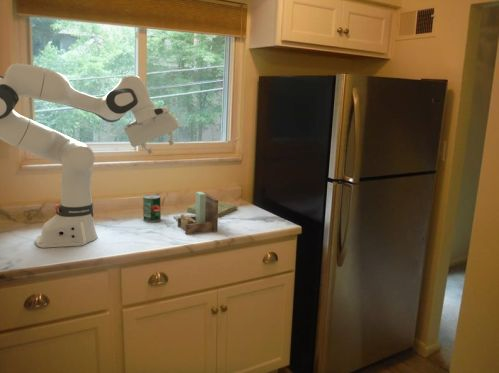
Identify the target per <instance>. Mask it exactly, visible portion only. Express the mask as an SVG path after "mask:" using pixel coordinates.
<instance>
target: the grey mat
mask: <svg viewBox="0 0 499 373" xmlns="http://www.w3.org/2000/svg"><path fill="white" fill-rule="evenodd" d="M184 215H185V216H187V217H193V216H196V214H187V215H186V214H184ZM178 218H181V215H176V216H173V219H174V220H175V221H177V222H178Z"/></svg>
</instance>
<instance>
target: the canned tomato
mask: <svg viewBox="0 0 499 373" xmlns="http://www.w3.org/2000/svg"><path fill="white" fill-rule="evenodd" d="M161 197H162V196H161V195H159V194H145V195H143V196H142V198H143V200H142V201H143V202H142V204H143V211H142V212H143V213H142V214H143V221H145V222H157V221H161V219H162V218H161V214H162V211H161V208H162V207H161V204H162V203H161Z"/></svg>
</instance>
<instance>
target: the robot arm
mask: <svg viewBox="0 0 499 373" xmlns="http://www.w3.org/2000/svg"><path fill="white" fill-rule="evenodd" d="M4 74H5V75H4V76H3V75H0V140H1V141H3V142H4V143H7V144H9V145H11V146H13V147H16V148H18V149H20V150H23V151H25V152H27V153H29V154H33V155H35V156H38V157H41V158H44V159H46V160H48V161H51V162H55V163H57V164H59V165H61V167H62V169H61V182H60V197H61V198H60V200H61V201H60V202H61V203H60V204H59V203H56V204H54V206H53V207H54V209H55V213H56V214H55V215H54V216H52V218H50V219H49V220H47V221H46V222H44V224H43V226H42V229H41V233H40V234H39V235H38V236H36V237H35V240H34V241H35V245H36V246H37V247H39V248H41V249H42V248H60V247H64V248H65V247H78V246H80V247H81V246H84V245H86V244H88V243H91V242H93V241H95V240H97V238H98V234H97V231H96V227H95V223H94V215H95V214H94V213H95V212H94V210H95V209H94V203H93V202H92V201H93V200H92V197H93V196H92V180H93V172H94V163H95V154H94V151H93V149H92V148H91V147H90V146H89V145H88V144H86V143H84V142H82V141H79V140H77V139H75V138H73V137H70V136H68V135H66V134H65V133H64V134H63V133H61V132H59V131H57V130H55V129H53V128H51V127H49V126H46V125H45V124H42V123H39V122H37V121H35V120H33V119H31V118H29V117H26V116H23V115H21V114H19V113H18V112H16V110H14V109H15V107H16V106H17V105H18V102H19V100H20V98H22V97H23V98H30V99H35V100H39V101H42V102H47V103H53V104H58V105H62V106H63V105H64V106H68V107H71V108H74V109H78V110H81V111H85V112H88V113H91V114H93V115H95V116H97V117H98V118H100V119H102V120H103V121H105V122H108V123H116V122H118V121H120V120H121V118H122V117H124V116H125V115H126V114H127V113H128V112H131V113H132V115H133V117H134V119H135V120H134V121H132V122H130V123H127V124H126V125H125V126H124V132H125V134H126V136H127V138H128V141H129V144H130V146H131V147H132V148H136V147H138V146H141V148H143V149H144V150H146V152H147V154H148V155H150V154H152V153H153V150H152V148H148V147H147V143H148V142H149V141H152V140H156V139H157V138H160V137H162V136H164V135H166V134H167V136H169V140H167V142H168V144H169V145H170V146H172V145H174V144H175V143H174V142H175V141H174V140H173V139H174V133H173V132H174V131H176V130H178V129H179V128H180V125H179V122H178V120H177V119H176V117H175V115H174V114H173V113H171V112H170V109H169V107H168V106H158V107H155V103H153V101H152V100H151V97H150V93H149V90H148V88H147V86H146V85H145V83H144V81H143V80H142V78H141V77H140V76H138V75H136V74H135V75H133V74H132V75H127V76H124V77H122V78H120V79H119V82H118V83H117V84H116V86H115V87H114V88H112V90H110V91H109V92H107V94H106V95H105V96H103V97H96V96H94V95H90V94H87V93H85V92H81V91H79V90H77V89H75V88H74V87H73V86H72V85H71V83H70V81H69V79H68V78H67V77H66V76H65V75H64V74H62V73H60V72H59V71H58V72H57V71H55V70H53V69H50V68H46V67H43V66H38V65H33V64H27V63H20V62H19V63H12V64H11V65H9V66H8V67H7V69H6V71H5V73H4Z"/></svg>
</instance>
